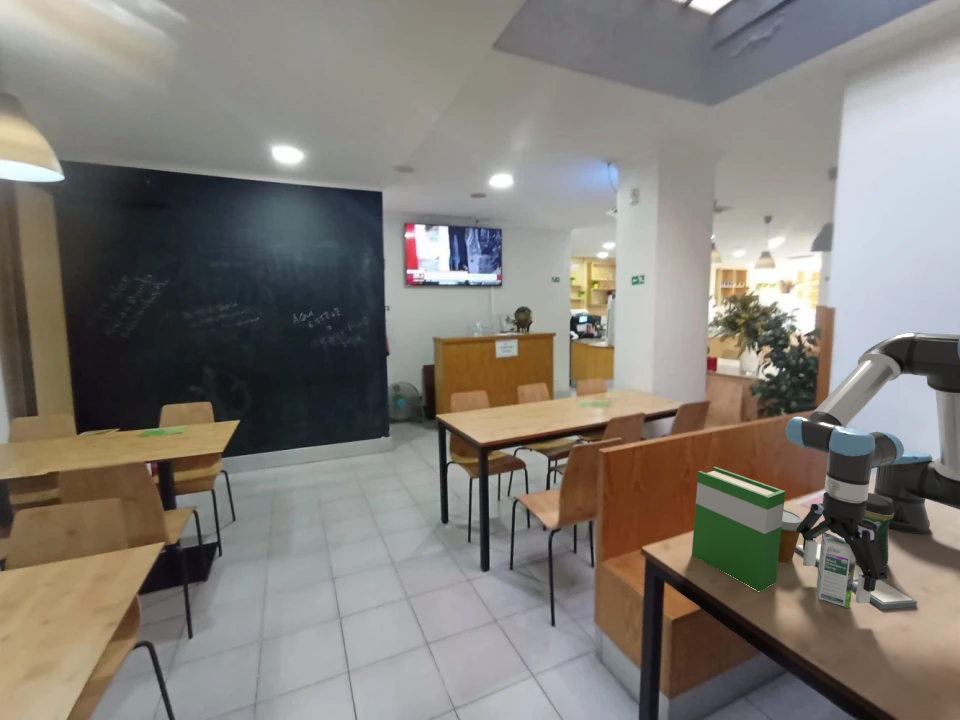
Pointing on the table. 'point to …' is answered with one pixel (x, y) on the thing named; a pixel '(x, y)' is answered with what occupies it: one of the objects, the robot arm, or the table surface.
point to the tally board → (883, 592)
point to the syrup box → (835, 570)
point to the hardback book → (738, 526)
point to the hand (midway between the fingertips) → (833, 582)
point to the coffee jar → (879, 520)
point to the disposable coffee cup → (788, 536)
